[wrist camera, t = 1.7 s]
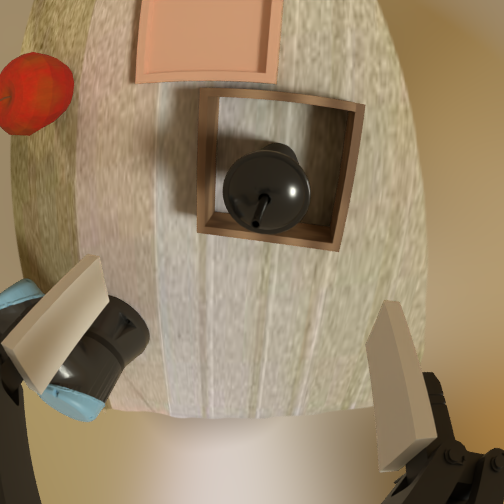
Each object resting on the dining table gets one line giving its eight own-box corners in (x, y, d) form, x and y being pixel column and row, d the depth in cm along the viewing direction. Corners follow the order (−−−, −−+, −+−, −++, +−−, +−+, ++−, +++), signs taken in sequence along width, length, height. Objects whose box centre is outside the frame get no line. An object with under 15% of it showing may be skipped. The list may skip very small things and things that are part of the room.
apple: (99, 107, 37) (32, 121, 25) (50, 135, 40) (-12, 158, 28) (83, 39, 31) (15, 35, 19) (35, 74, 34) (-28, 84, 22)
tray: (142, 83, 35) (135, 83, 33) (153, -29, 26) (146, -33, 24) (276, 84, 33) (275, 83, 31) (286, -38, 24) (285, -44, 22)
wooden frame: (207, 217, 43) (196, 232, 39) (212, 88, 34) (199, 87, 30) (335, 234, 41) (338, 251, 37) (357, 103, 32) (365, 104, 28)
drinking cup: (253, 193, 40) (214, 276, 23) (242, 137, 37) (188, 178, 20) (311, 186, 39) (317, 268, 21) (303, 128, 35) (305, 161, 18)
